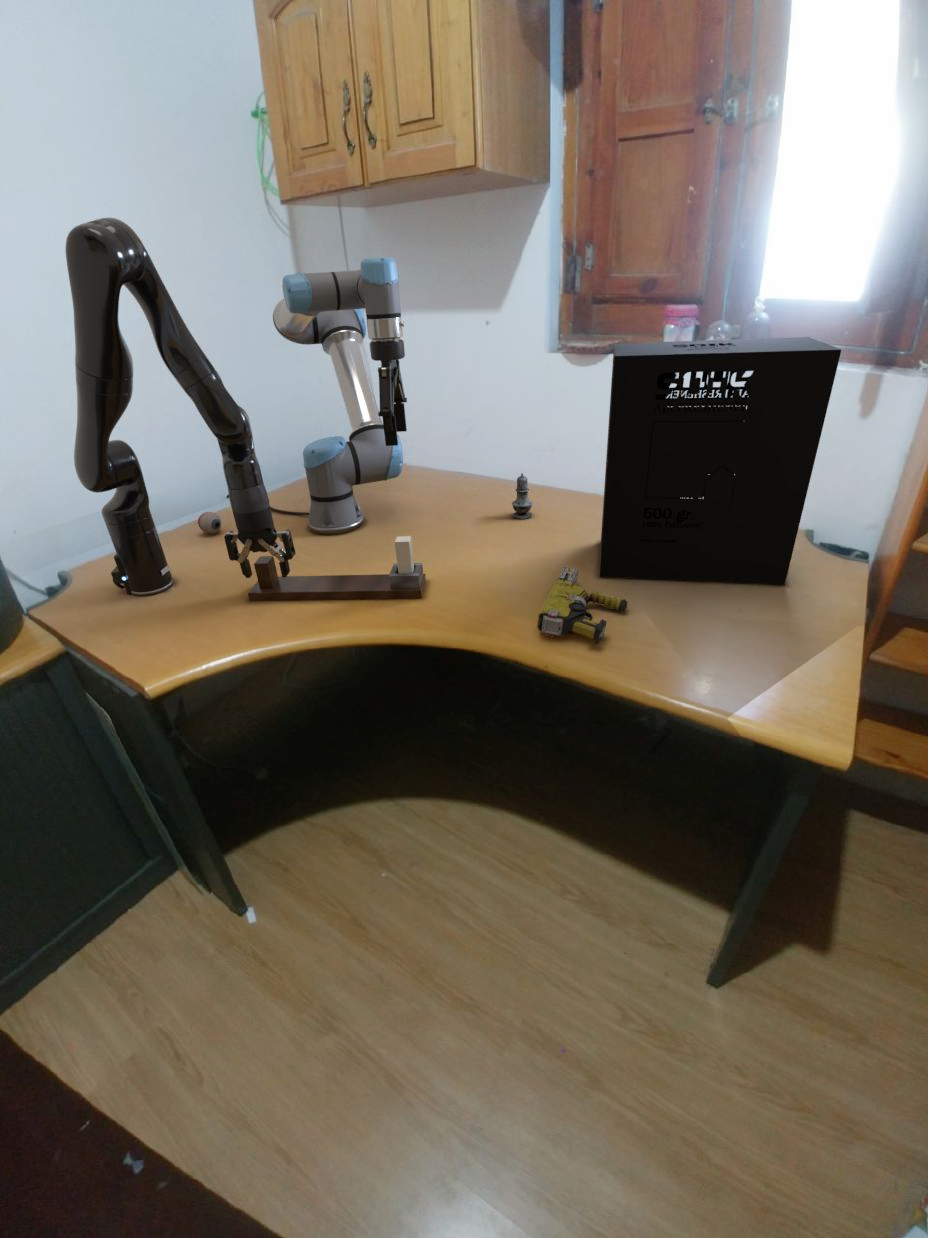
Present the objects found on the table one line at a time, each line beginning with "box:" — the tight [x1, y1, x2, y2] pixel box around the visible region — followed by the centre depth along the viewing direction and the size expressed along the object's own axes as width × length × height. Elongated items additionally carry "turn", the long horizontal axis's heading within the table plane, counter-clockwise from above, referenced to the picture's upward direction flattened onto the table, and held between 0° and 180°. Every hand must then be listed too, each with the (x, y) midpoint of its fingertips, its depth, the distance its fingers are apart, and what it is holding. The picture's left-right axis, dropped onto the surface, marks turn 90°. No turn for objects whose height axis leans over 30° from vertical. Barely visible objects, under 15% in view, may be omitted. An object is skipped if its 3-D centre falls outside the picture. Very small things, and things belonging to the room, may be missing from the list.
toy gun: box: [536, 566, 629, 645], centre depth 118 cm, size 5×24×15 cm
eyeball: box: [197, 511, 222, 534], centre depth 167 cm, size 6×6×6 cm
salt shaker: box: [511, 472, 534, 520], centre depth 165 cm, size 6×6×12 cm
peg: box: [394, 535, 415, 574], centre depth 129 cm, size 3×3×10 cm
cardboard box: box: [599, 336, 842, 586], centre depth 126 cm, size 38×20×45 cm, turn 78°
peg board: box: [247, 555, 427, 602], centre depth 132 cm, size 38×8×8 cm, turn 86°
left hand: (267, 576), depth 133 cm, fingers open, 8 cm apart
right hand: (396, 438), depth 142 cm, fingers open, 13 cm apart
